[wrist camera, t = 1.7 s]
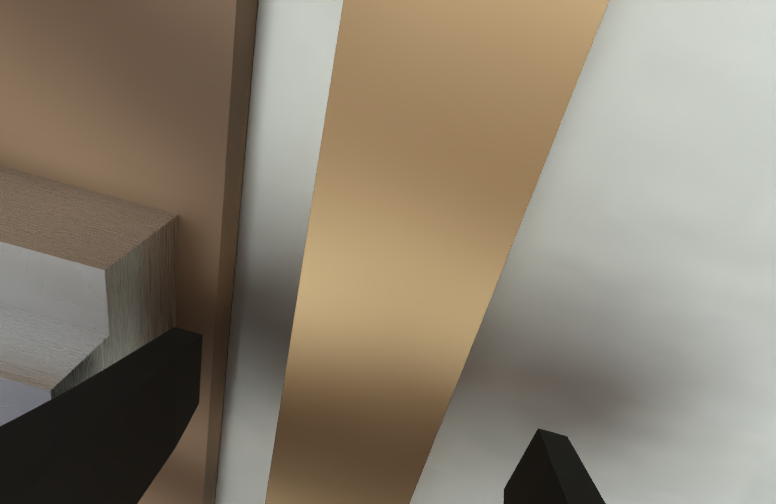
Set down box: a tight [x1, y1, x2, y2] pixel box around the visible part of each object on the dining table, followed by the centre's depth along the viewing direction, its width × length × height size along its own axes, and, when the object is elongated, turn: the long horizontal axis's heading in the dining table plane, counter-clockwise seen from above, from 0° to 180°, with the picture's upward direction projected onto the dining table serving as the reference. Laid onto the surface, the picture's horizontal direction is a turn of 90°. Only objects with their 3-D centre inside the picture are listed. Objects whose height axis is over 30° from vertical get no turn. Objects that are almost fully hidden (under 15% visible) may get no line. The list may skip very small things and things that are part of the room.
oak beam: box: [265, 0, 609, 504], centre depth 11 cm, size 22×3×4 cm, turn 167°
